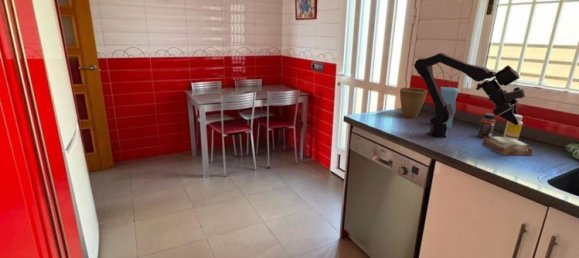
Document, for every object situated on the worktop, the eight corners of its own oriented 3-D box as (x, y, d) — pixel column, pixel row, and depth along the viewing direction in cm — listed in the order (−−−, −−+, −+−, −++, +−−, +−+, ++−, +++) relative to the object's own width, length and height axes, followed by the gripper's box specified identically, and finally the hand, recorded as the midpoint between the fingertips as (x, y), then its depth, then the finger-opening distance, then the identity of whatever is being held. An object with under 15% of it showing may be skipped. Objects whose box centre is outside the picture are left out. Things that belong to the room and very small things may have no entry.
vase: (434, 122, 177) (440, 86, 171) (449, 123, 175) (456, 88, 169) (436, 126, 170) (442, 89, 164) (452, 127, 168) (459, 90, 161)
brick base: (500, 154, 133) (503, 145, 132) (482, 143, 145) (484, 135, 144) (531, 155, 133) (533, 146, 132) (510, 144, 146) (512, 136, 144)
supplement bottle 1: (493, 139, 152) (499, 116, 149) (480, 137, 153) (485, 115, 150) (489, 135, 158) (494, 113, 154) (476, 134, 159) (480, 112, 155)
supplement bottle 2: (520, 140, 131) (527, 117, 128) (506, 139, 132) (512, 116, 129) (514, 136, 136) (520, 114, 133) (500, 134, 137) (506, 113, 134)
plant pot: (426, 116, 189) (430, 89, 185) (418, 121, 178) (422, 93, 173) (401, 111, 198) (405, 86, 193) (392, 116, 187) (396, 89, 182)
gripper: (510, 83, 123) (536, 117, 119) (518, 79, 136) (542, 109, 132) (482, 99, 130) (506, 131, 127) (492, 93, 143) (515, 122, 140)
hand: (518, 123), depth 131 cm, fingers closed on supplement bottle 2, 5 cm apart
